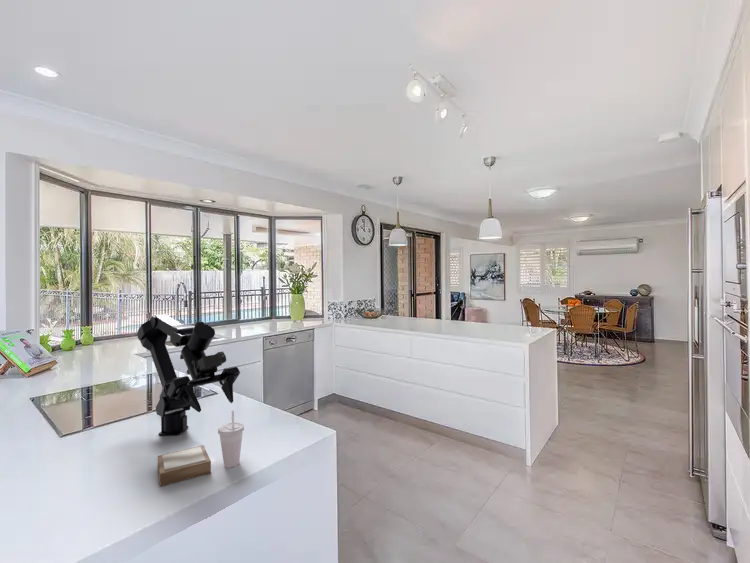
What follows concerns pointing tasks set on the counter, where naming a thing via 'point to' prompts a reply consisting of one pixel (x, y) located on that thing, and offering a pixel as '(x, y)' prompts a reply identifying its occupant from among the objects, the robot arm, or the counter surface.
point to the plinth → (183, 465)
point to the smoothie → (231, 442)
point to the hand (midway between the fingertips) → (216, 406)
